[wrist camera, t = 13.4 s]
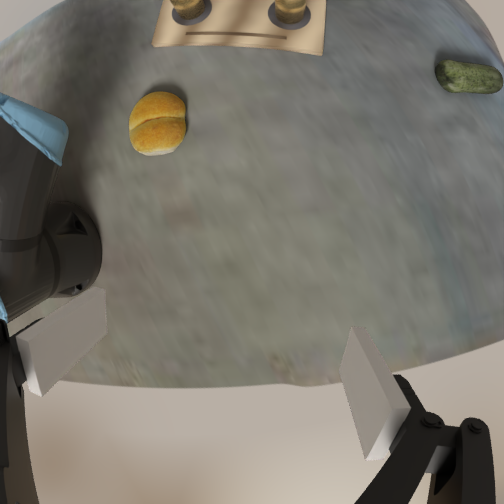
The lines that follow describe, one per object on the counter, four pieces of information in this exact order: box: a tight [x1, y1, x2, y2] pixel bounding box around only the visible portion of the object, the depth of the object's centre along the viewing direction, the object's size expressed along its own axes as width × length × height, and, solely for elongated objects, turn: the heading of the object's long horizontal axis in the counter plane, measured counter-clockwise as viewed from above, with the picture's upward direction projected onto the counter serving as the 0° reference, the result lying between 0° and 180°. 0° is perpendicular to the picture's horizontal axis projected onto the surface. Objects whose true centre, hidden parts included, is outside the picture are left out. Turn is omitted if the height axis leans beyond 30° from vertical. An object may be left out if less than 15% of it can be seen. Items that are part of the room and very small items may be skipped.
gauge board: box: [152, 0, 326, 56], centre depth 34 cm, size 24×12×1 cm, turn 83°
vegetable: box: [436, 60, 503, 94], centre depth 31 cm, size 14×5×5 cm, turn 102°
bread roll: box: [129, 91, 186, 156], centre depth 37 cm, size 8×9×4 cm
